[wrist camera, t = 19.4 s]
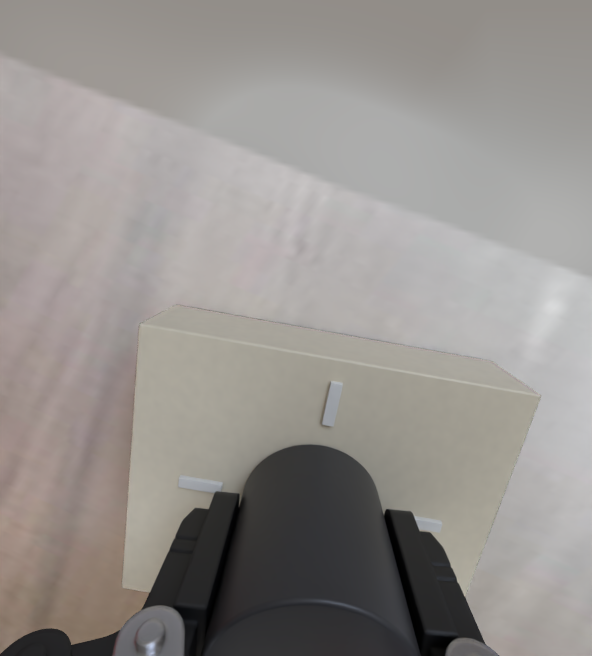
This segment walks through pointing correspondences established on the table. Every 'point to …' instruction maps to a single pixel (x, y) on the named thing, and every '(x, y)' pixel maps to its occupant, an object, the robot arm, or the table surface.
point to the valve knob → (310, 565)
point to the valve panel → (315, 426)
